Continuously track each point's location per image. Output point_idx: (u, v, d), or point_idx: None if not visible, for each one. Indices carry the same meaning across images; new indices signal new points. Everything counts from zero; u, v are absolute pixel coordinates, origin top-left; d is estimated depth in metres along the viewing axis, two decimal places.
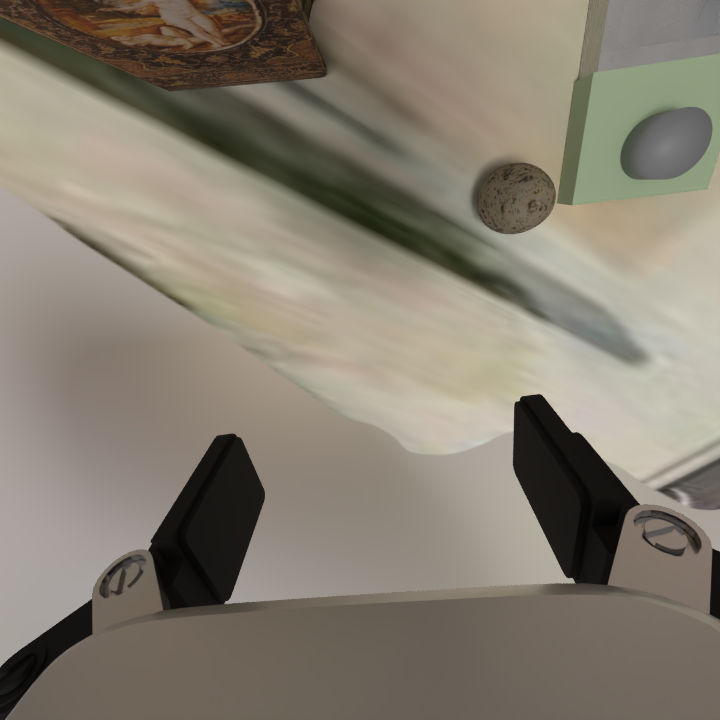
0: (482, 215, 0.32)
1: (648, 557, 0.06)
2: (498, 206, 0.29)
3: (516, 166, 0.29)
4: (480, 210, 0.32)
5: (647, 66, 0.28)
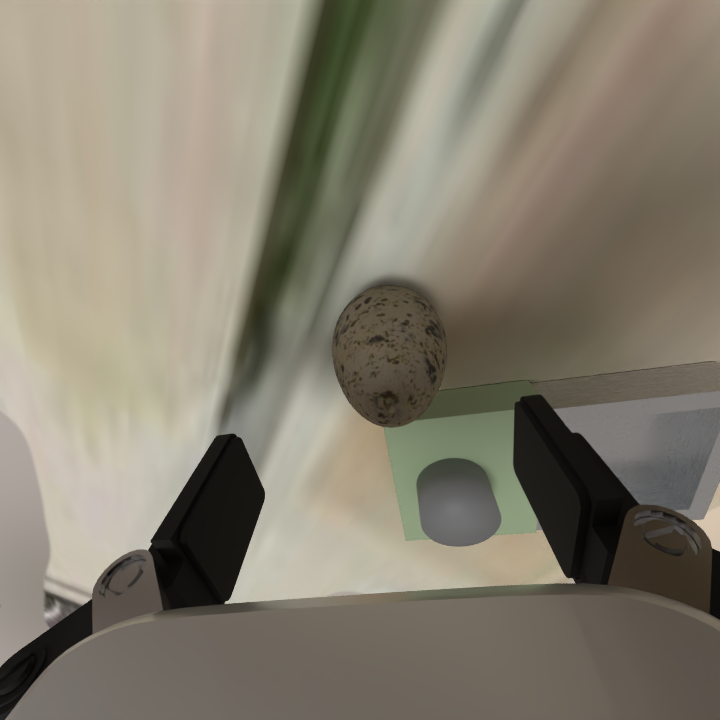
0: (359, 300, 0.17)
1: (648, 557, 0.06)
2: (378, 329, 0.14)
3: (444, 342, 0.16)
4: (368, 295, 0.17)
5: None
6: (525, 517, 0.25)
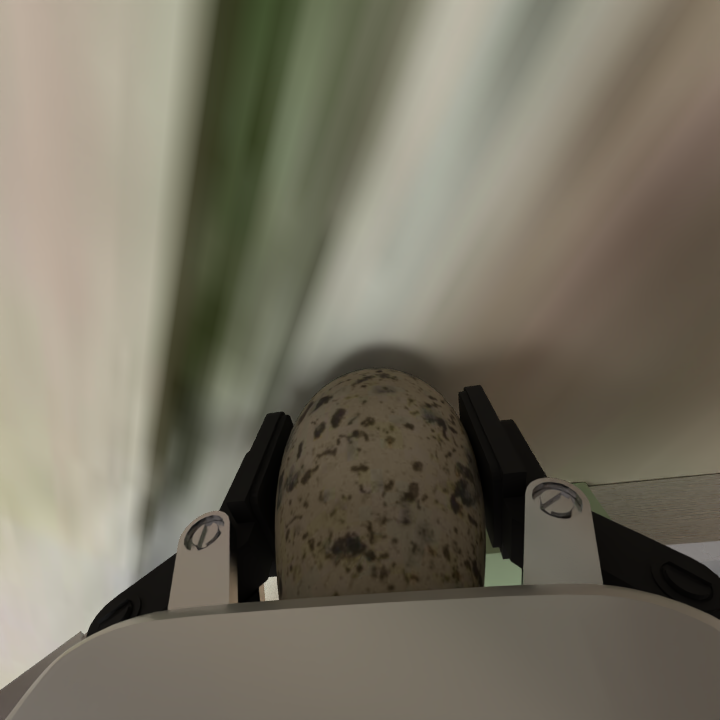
0: (324, 412, 0.09)
1: (548, 526, 0.07)
2: (352, 515, 0.07)
3: (482, 498, 0.09)
4: (339, 401, 0.09)
5: None
6: None
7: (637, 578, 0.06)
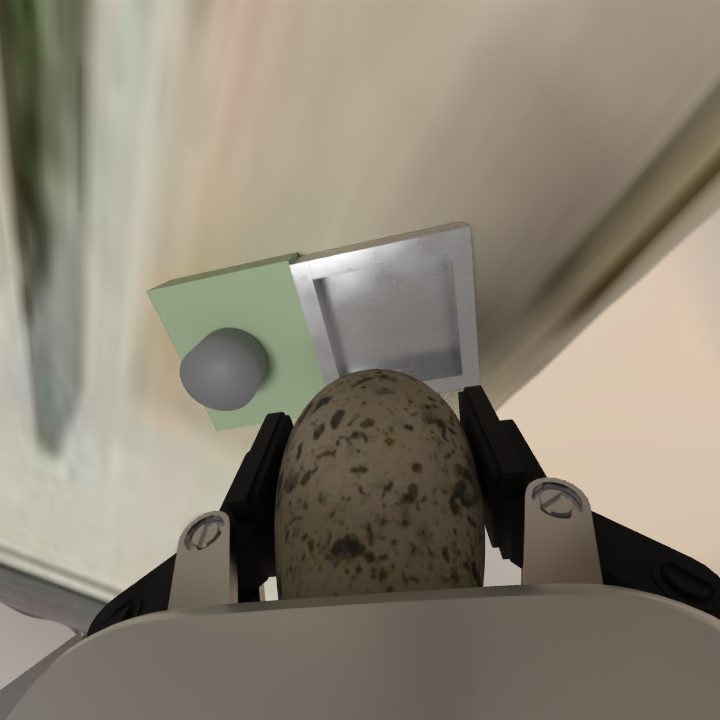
0: (323, 413, 0.09)
1: (548, 526, 0.07)
2: (352, 516, 0.07)
3: (481, 499, 0.09)
4: (339, 402, 0.09)
5: (304, 321, 0.23)
6: None
7: (637, 578, 0.06)
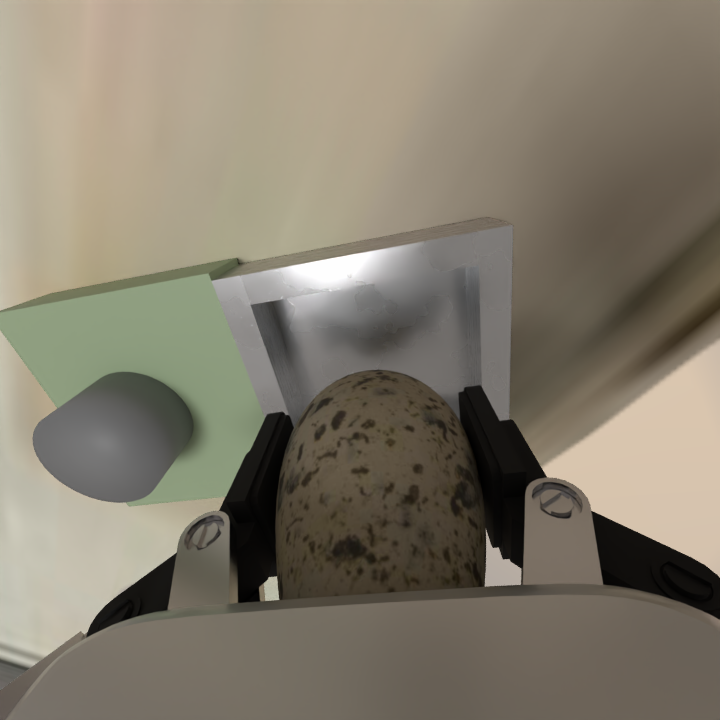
0: (324, 414, 0.09)
1: (548, 526, 0.07)
2: (353, 517, 0.07)
3: (482, 500, 0.09)
4: (340, 403, 0.09)
5: (242, 367, 0.15)
6: None
7: (637, 578, 0.06)
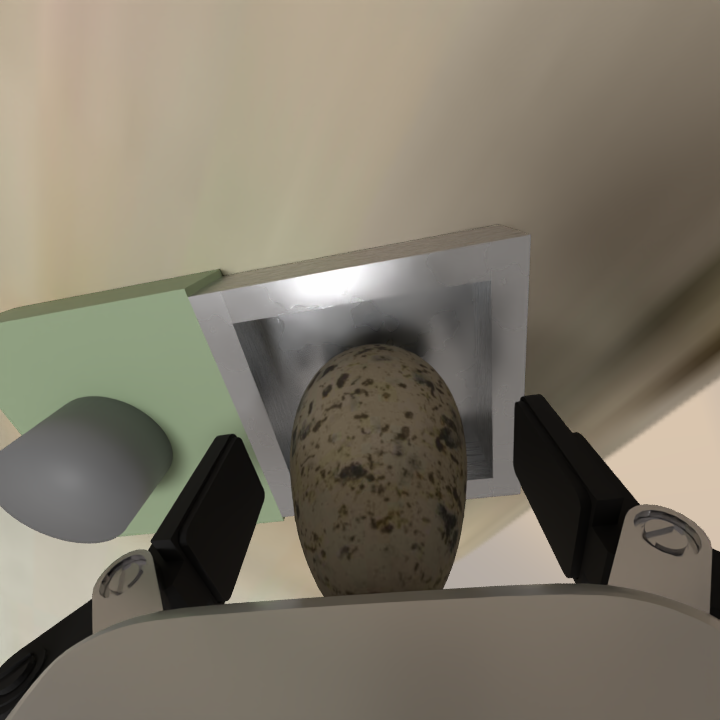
0: (330, 377, 0.11)
1: (648, 557, 0.06)
2: (356, 450, 0.08)
3: (464, 446, 0.10)
4: (343, 367, 0.11)
5: (224, 391, 0.13)
6: None
7: None
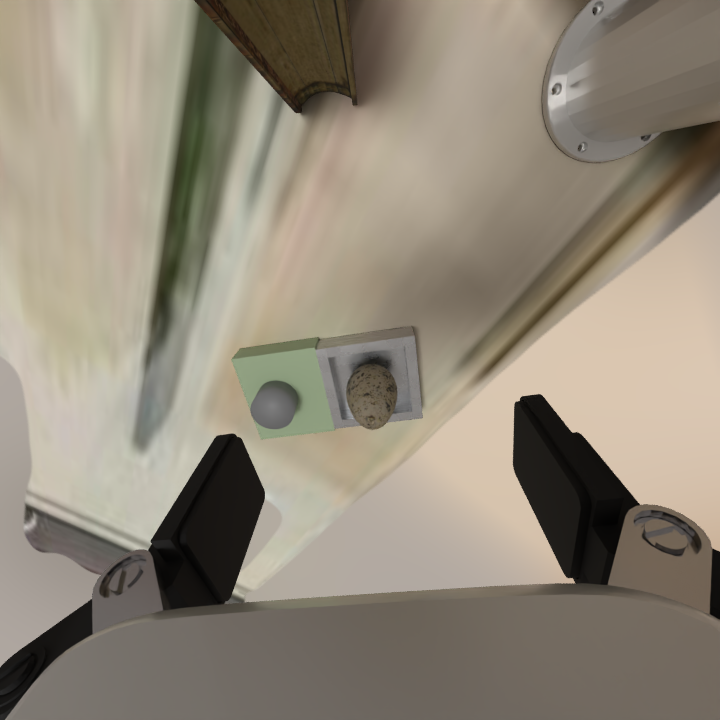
0: (359, 374, 0.38)
1: (648, 557, 0.06)
2: (367, 390, 0.35)
3: (395, 392, 0.37)
4: (362, 371, 0.38)
5: (321, 379, 0.41)
6: (325, 419, 0.43)
7: None
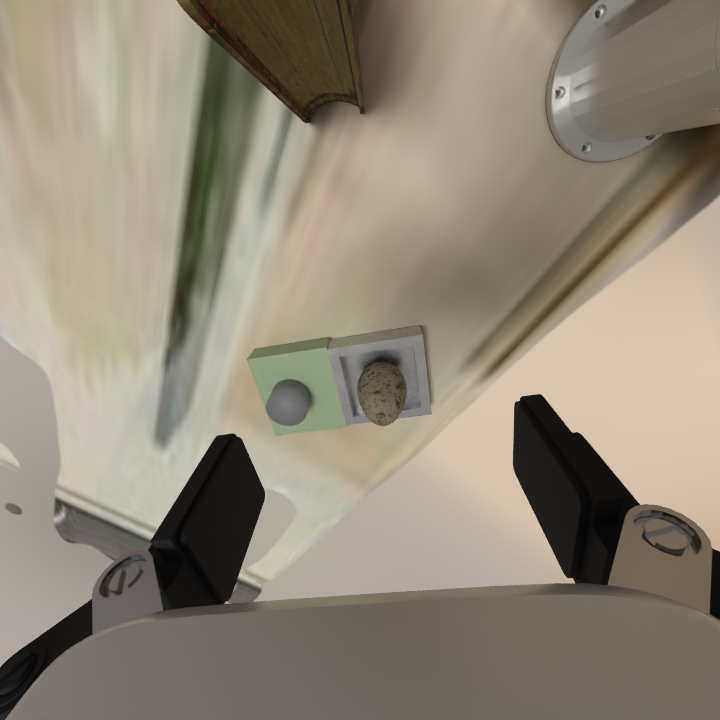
0: (369, 372, 0.39)
1: (648, 557, 0.06)
2: (377, 388, 0.37)
3: (404, 390, 0.39)
4: (372, 369, 0.39)
5: (333, 377, 0.42)
6: (337, 416, 0.45)
7: None
